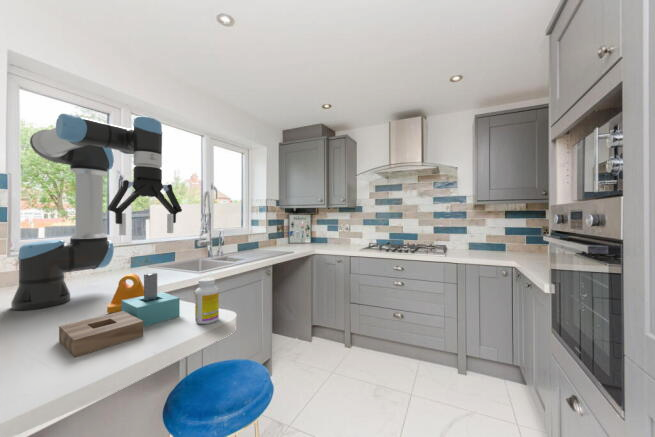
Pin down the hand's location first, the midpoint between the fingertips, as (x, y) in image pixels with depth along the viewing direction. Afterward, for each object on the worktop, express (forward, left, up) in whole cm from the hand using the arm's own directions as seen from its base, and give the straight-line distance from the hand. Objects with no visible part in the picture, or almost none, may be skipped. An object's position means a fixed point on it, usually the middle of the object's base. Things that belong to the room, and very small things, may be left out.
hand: (147, 234), depth 87 cm
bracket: (-14, 0, -27) cm, 31 cm away
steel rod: (+1, +1, -27) cm, 27 cm away
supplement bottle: (+18, +10, -27) cm, 34 cm away
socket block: (+7, -13, -27) cm, 31 cm away
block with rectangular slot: (+1, +1, -27) cm, 27 cm away
